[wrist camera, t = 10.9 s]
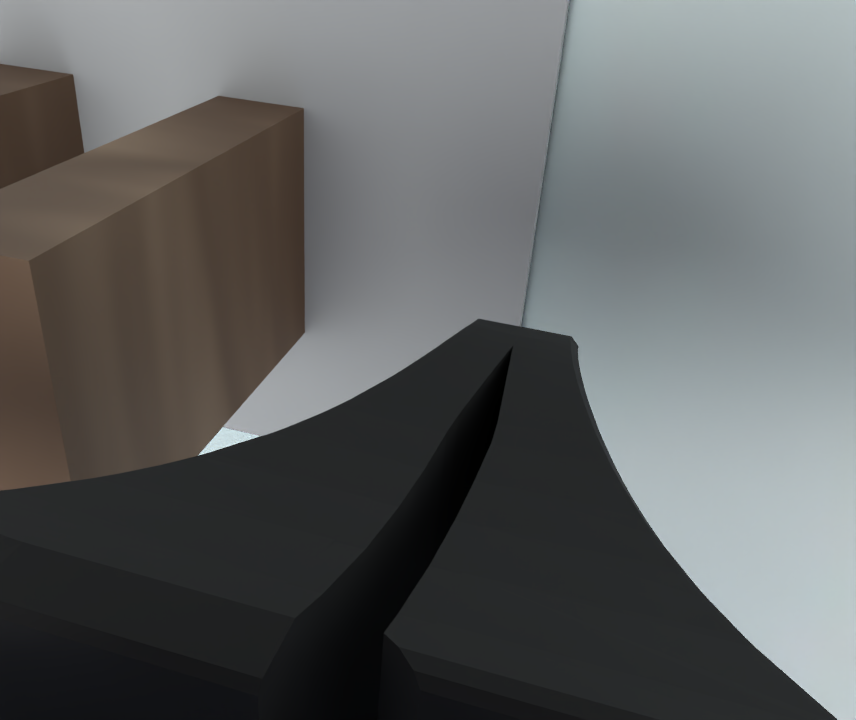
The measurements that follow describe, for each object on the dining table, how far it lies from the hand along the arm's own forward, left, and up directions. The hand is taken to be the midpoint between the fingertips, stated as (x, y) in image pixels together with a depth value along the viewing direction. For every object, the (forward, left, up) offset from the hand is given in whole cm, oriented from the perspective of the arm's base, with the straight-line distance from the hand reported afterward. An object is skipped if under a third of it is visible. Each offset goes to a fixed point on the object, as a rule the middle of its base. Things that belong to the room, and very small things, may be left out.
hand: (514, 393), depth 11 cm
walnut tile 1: (+5, 0, -4) cm, 7 cm away
